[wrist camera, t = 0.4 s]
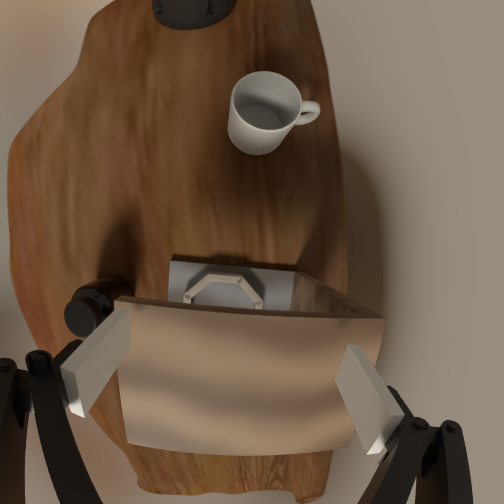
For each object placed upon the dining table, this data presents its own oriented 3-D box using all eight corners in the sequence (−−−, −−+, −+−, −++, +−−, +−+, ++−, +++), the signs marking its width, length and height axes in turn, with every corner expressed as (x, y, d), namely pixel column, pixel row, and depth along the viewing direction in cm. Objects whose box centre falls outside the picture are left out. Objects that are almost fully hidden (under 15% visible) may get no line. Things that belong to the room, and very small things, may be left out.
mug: (230, 158, 40) (234, 135, 29) (224, 106, 39) (226, 71, 28) (309, 152, 41) (336, 130, 30) (300, 102, 40) (323, 70, 30)
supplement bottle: (110, 264, 40) (74, 278, 28) (142, 295, 41) (115, 320, 29) (87, 296, 40) (49, 317, 28) (117, 325, 40) (87, 356, 29)
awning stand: (171, 259, 41) (114, 300, 17) (302, 271, 43) (386, 318, 20) (167, 342, 42) (128, 443, 18) (291, 351, 44) (348, 446, 21)
